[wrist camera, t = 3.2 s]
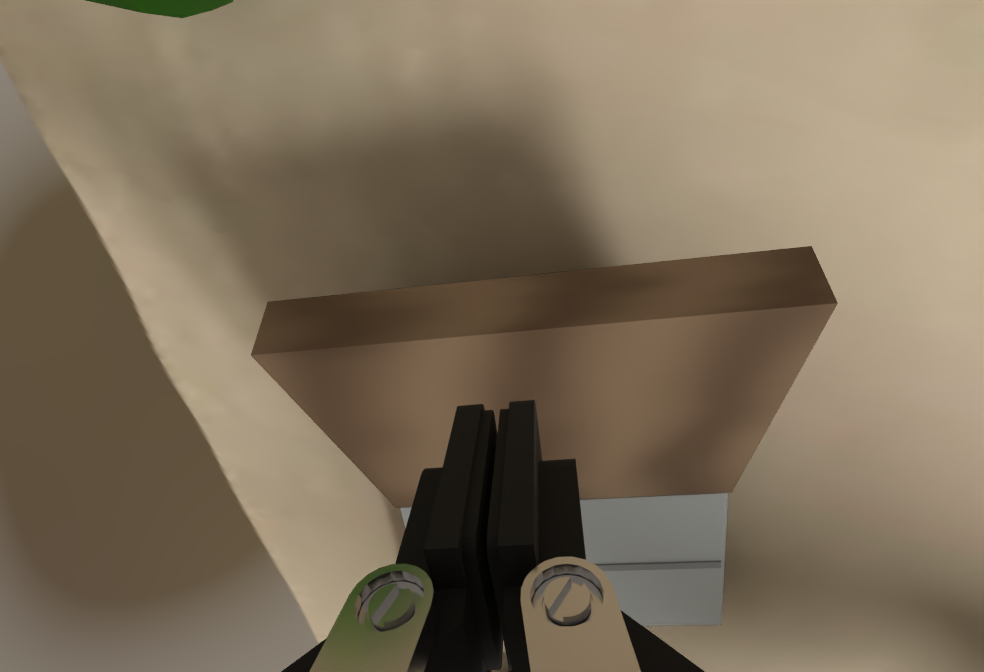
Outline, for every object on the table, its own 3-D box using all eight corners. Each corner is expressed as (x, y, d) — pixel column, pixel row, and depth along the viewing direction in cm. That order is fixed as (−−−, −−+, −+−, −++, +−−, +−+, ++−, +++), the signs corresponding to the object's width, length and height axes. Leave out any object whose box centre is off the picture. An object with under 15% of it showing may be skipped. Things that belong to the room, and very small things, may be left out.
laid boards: (716, 466, 27) (728, 494, 26) (711, 593, 31) (722, 626, 29) (408, 482, 30) (399, 509, 28) (438, 599, 33) (431, 630, 31)
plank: (811, 246, 15) (837, 303, 14) (721, 451, 26) (731, 492, 25) (267, 302, 17) (250, 355, 16) (400, 469, 28) (396, 507, 27)
